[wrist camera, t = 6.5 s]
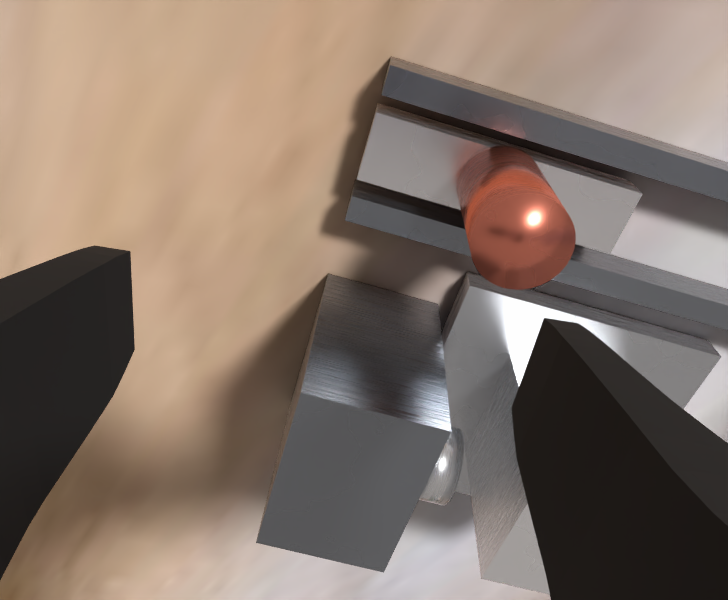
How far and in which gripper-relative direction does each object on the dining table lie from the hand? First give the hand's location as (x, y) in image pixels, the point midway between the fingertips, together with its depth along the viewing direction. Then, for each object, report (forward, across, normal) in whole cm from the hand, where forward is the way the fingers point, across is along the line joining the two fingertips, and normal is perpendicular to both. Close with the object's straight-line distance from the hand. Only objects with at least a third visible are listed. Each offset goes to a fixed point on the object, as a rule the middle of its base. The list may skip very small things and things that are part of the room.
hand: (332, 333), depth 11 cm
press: (+9, -8, +5) cm, 13 cm away
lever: (+10, -4, 0) cm, 10 cm away
